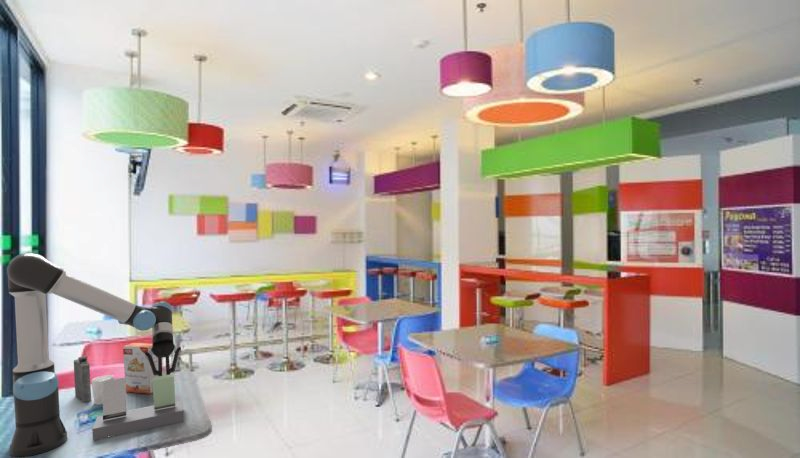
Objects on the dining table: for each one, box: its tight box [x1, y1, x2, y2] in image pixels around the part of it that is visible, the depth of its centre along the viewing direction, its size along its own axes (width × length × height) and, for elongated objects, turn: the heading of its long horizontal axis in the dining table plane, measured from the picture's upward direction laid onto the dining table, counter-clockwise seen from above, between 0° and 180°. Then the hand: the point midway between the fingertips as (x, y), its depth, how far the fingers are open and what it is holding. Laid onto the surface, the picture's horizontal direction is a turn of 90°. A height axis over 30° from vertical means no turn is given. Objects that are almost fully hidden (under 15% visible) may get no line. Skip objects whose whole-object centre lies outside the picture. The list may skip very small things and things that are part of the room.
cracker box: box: [122, 342, 158, 395], centre depth 200 cm, size 14×6×21 cm, turn 73°
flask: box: [73, 355, 92, 404], centre depth 195 cm, size 4×14×18 cm, turn 49°
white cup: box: [91, 374, 115, 406], centre depth 189 cm, size 8×8×10 cm
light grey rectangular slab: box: [102, 376, 127, 420], centre depth 163 cm, size 2×7×13 cm, turn 116°
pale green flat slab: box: [152, 373, 176, 410], centre depth 167 cm, size 2×7×13 cm, turn 118°
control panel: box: [91, 399, 185, 441], centre depth 165 cm, size 12×28×4 cm, turn 117°
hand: (164, 389), depth 168 cm, fingers closed
